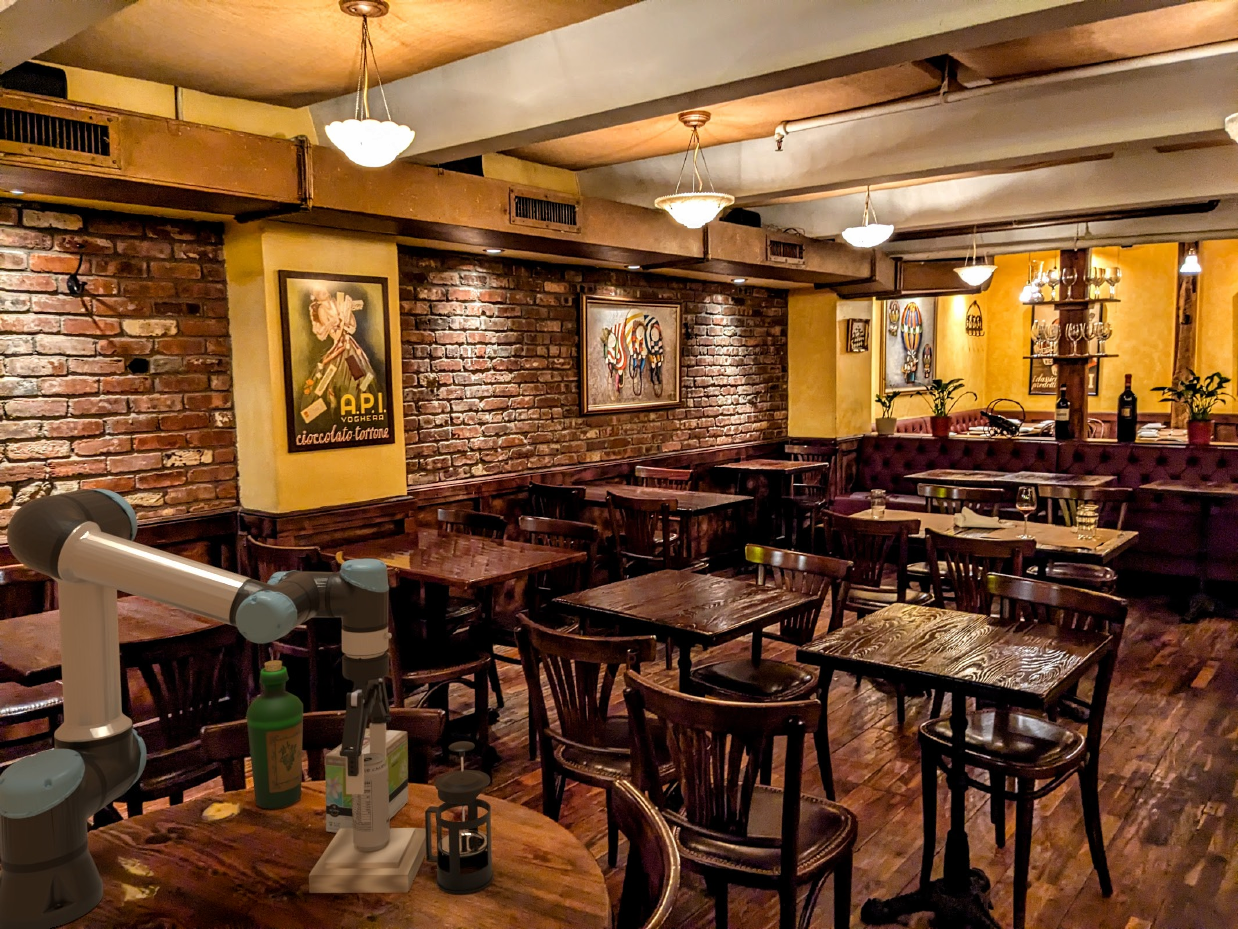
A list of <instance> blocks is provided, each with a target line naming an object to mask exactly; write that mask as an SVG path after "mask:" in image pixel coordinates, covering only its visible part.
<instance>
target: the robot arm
mask: <svg viewBox="0 0 1238 929" xmlns="http://www.w3.org/2000/svg"><path fill="white" fill-rule="evenodd" d="M133 508H134V507H133V506H132V505H131V504H130V503H129V502H128V500H126V499H125V498H124V497H123V496H122V495H121V494H119V493H117V492H115V491H112V490H109V489H104V488H85V489H83V488H81V489H80V488H79V489H77V490H73V491H68V492H63V493H62V492H61V493H57V494H51V495H44V496H40V497H36V498H33V499H31V500H29V501H27V502H26V503H24V504H23V505H21V506H20V507H19V508H18V509H17V510H16V511H15V512H14V514H13V515H12V516H11V518H10V520H9V522H8V525H7V530H6V541H7V545H8V548H9V549H10V552H11V553H12V556H14V558H15V559H16V560H17V561H18V562H19V563H20V564H22V565H24V566H25V568H28V569H30V570H33V571H35V573H38V574H39V573H40V574H43V575H45V576H49V577H50V578H52V579H53V580H54V581H55V582H56V583H57V592H58V593H57V594H58V595H57V596H58V614H59V618H58V620H59V635H60V638H59V640H60V660H61V661H60V662H61V677H62V678H61V679H62V680H61V681H62V701H63V723H62V724H60V725H59V727H58V728H57V729H55V731H54V749H53V748H52V749H47V750H43V751H38V752H36V753H35V754H34V755H27V756H25V757H22V758H21V759H18V760H16V761H15V762H14V763H12V764H10V765H9V766H8V767H7V768H6V769H4V770H3V772H2V773H1V774H0V865H1V866H0V868H1V870H0V929H50V928H52V927H55V928H57V927H56V926H58V927H60V925H61V926H63V925H65V924H69V923H72V922H73V921H75V920H77V919H80V918H81V917H83V916H84V915H86V914H88V913H89V912H91V911H92V910H93V909H94V908H96V907H97V905H98V904H99V903H100V902H101V900H102V899H103V897H104V883H103V878H102V876H101V874H100V873H99V870H98V868H97V866H96V863H95V861H94V859H93V857H92V854H91V853H90V850H89V842H88V823H87V822H88V820H89V819H90V818H91V817H93V816H94V815H96V813H98V812H100V811H101V810H102V809H103V808H105V807H106V806H107V805H109V804H110V803H112V802H113V801H114V800H117V799H118V798H119V797H120V798H121V796H123V795H124V794H125V793H127V791H128V790H129V789H131V787H132V786H133V785H134V784H136V782H137V781H138V780H139V778H141V776H142V774H143V771H144V770H145V767H146V764H147V747H146V744H145V741H144V739H143V738H142V736H140V735H138V731H137V730H135V729H134V728H133V721H132V719H131V718H130V717H128V716H126V715H125V714H124V713H123V711H122V709H123V708H122V687H121V686H122V684H121V665H120V664H121V663H120V660H121V658H120V641H119V640H120V638H119V636H120V635H119V615H118V614H119V613H118V591H121V592H124V593H127V594H130V595H133V596H136V597H140V598H143V599H146V600H149V601H152V602H156V603H157V604H158V603H159V604H162V605H165V606H168V607H171V608H175V609H179V610H182V611H184V612H188V613H191V614H194V615H197V616H201V617H204V618H207V619H211V620H214V621H217V622H221V623H223V624H227V625H230V626H233V627H236V628H237V630H238V632H239V633H240V634H241V635H242V637H244V638H245V639H246V640H247V641H250V642H251V643H255V644H268V643H271V642H273V641H277V640H279V639H280V638H283V637H285V636H286V635H288V634H289V633H290V632H291V631H293V630H294V629H295V628H297V627H298V626H300V625H302V624H304V623H305V622H306V621H308V620H310V619H311V618H332V619H333V618H341V652H342V653H343V655H342V658H341V659H342V660H341V661H342V662H341V663H342V676H343V678H344V679H346V680H349V681H351V682H352V683H353V687H352V689H351V692H347V693H346V697H345V698H346V702H345V703H346V704H345V706H346V709H345V716H344V722H343V723H344V725H343V730H342V740H341V744H342V747H341V751H340V756H344V757H346V794H363V793H364V753H362V747H363V741H364V736H365V730H366V728H367V723H368V718H369V717H370V720H371V722H370V723H369V729H370V753H379V754H382V755H383V756H384V760H385V761H386V730H387V723H391V720H392V715H390V712H391V711H390V710H391V709H390V705H389V699H388V694H387V689H386V682H385V677H386V676H388V675H389V672H390V653H388V649H389V640H391V638H393V637H392V636H393V635H392V633H391V632H389V590H390V585H389V578H388V566H387V565H386V563H385V562H384V561H382V560H381V559H376V558H355V559H349V560H346V561H344V562H343V563H342V564H341V566H340V570H339V571H337V572H336V571H333V572H332V571H303V570H302V571H300V570H297V569H296V570H295V569H294V570H290V571H277V572H274V573H273V574H272V575H271V576H270V577H269V580H267V583H266V582H263V581H261V580H260V581H259V580H256V579H254V578H250V577H248V576H246V575H243V574H242V575H241V574H238V573H236V572H235V573H234V572H232V571H228V570H226V569H223V568H219V567H215V566H213V565H210V564H206V563H202V562H200V561H196V560H193V559H190V558H186V557H183V556H180V555H177V554H174V553H170V552H167V551H164V550H162V549H161V550H160V549H159V548H155V547H151V546H148V545H145V544H141V543H138V542H135V541H134V540H135V539H136V538H135V537H136V535H137V532H138V520H137V515H136V512H135V510H134V509H133ZM350 747H352V748H350ZM52 929H53V928H52Z"/></svg>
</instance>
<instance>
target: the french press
mask: <svg viewBox="0 0 1238 929" xmlns="http://www.w3.org/2000/svg"><path fill="white" fill-rule="evenodd" d="M474 748H475V743H473V742H471V741H464V740H463V741H455V742H454V743H451V744H449V745H448V749H449V750H450V751H451V752H454V753H458V756H459V758H460V768H461V770H454V771H450V772H447V773H445V774H443V775H440V776H439V777H438V778H436V780H435V782H434V787H435V789H436V790H437V798H438V799H439V800H440V801H441V802H443V803H442V804H440V805H439V806H434V805H432V806H431V805H429V806H428V807H427V809H426V810H425V811H424V812H425V813H424V818H425V819H424V822H425V825H424V826H425V827H424V828H425V829H426V854H425V857H426V858H425V859H426V862H427V863H436V874H437V875H436V879H435V883H436V887H437V888H438V889H439V890H440V891H441V892H443V893H446V894H449V895H453V896H454V895H458V896H459V895H460V896H461V895H465V896H466V895H470V894H475V893H478V892H480V891H481V892H482V891H483V890H485V889H487V888H488V887H490V885H491V884H492V883H493V881H494V877H495V876H494V875H495V874H494V871H493V856H492V810H491V809H492V808H491V804H490V803H489V802H487V801H486V800H483V799H480V798H478V797H479V795H480V794H481V793H482V791H483V790H484V789H485V788H487V787H488V786H489V784H490V782H491V777H490V776H489V775H488V774H487V773H485V772H484V771H480V770H476V769H464V757H465V755H466V752H469V751H472V750H473V749H474ZM458 807H461V809H462V811H461V812H462V813H461V815H462V818H461V819H462V821H454V820H447V819H443V818H442V813H444V812H446V811H448V810H451V809H453V808H458ZM465 807H467V820H466V821H465ZM478 808H480V809H481V808H482V809H484V810H486V811H487V812H486V813H485V814H484V815H482V816H480V817H479V811H478V810H479V809H478ZM432 814H435V823H436V852H437V854H436V855H434V854H433V849H432V848H433V847H432ZM485 824H486V833H484V832H482V831H479V827H480V826H481V827H482V826H483V825H485ZM443 828H444V829H447V830H448V834H447V835H445V836H443V832H442V831H443V830H442V829H443ZM463 868H464V869H465V868H473V869H477V870H475V871H473V872H468V873H461V869H463Z"/></svg>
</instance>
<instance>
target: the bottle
mask: <svg viewBox="0 0 1238 929" xmlns="http://www.w3.org/2000/svg"><path fill="white" fill-rule="evenodd" d="M282 664H283V661H282V660H275V659H274V660H269V661H266V662H264V668H262V669H261V671H260V674H259V675H260V676H259V684H260V685H262V692H263V693H262V694H260V695H259V696H257V697H256V698H255V699H253V700H252V701H251V703H250V705H249V707H248V708H247V711H246V713H245V714H246V715H245V716H246V723H247V724H246V725H247V734H248V742H249V743H248V744H249V754H250V762H251V772H252V773H251V774H252V781H253V793H254V801H255V805H257V806H258V807H260V808H262V809H267V808H268V809H270V810H276V808H277V809H283V808H286V807H289V806H292V805H294V804H295V803H296V802H298V801H300V800H301V797H302V779H303V778H302V777H303V776H302V772H303V771H302V770H303V769H302V768H303V764H302V763H303V730H304V728H303V727H304V726H303V725H304V724H303V723H304V721H303V720H304V703H303V702H302V701H301V699H300V697H298V696H296V695H294V694H293V693H291V692H288V691H287V690H286V682H288V681H289V679H290V678H289V675H288V671H287V667H286V666H284V665H282Z"/></svg>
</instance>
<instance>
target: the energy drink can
mask: <svg viewBox="0 0 1238 929" xmlns="http://www.w3.org/2000/svg"><path fill="white" fill-rule="evenodd" d="M352 816H353V843H354V844H355V845H356V846H357V848H358V849H359V850H361V851H375V850H379V849H381V848H383V847H384V846H385V845H386V844H387V841H388V840H389V838H390V828H391V827H390V826H391V825H390V820H389V787H388V765H387V763H386V762H385V760H384V756H383V755H382V754H379V753H367V754H364V793H363V794H352Z"/></svg>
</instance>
